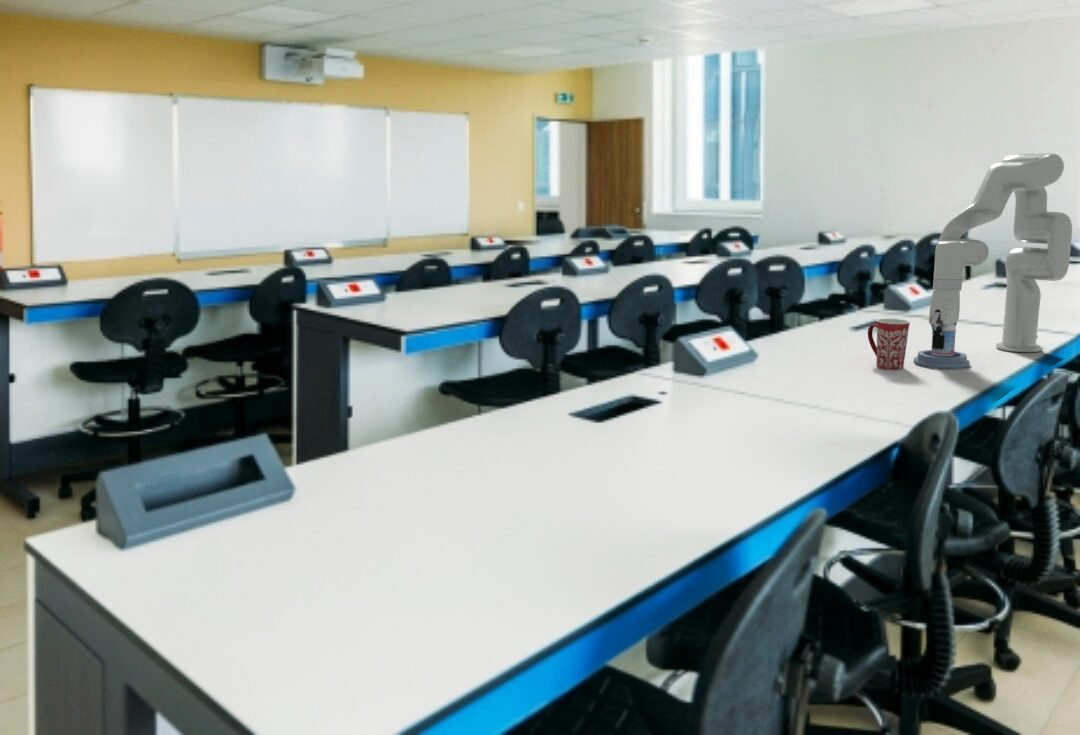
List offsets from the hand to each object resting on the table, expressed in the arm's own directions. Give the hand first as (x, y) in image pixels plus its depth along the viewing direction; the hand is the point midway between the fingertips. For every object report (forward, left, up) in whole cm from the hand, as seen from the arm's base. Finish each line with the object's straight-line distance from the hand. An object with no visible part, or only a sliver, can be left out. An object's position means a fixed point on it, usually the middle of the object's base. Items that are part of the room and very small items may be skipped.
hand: (942, 346), depth 272 cm
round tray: (0, 0, -5) cm, 5 cm away
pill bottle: (0, 0, -3) cm, 3 cm away
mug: (+14, -10, -5) cm, 18 cm away
